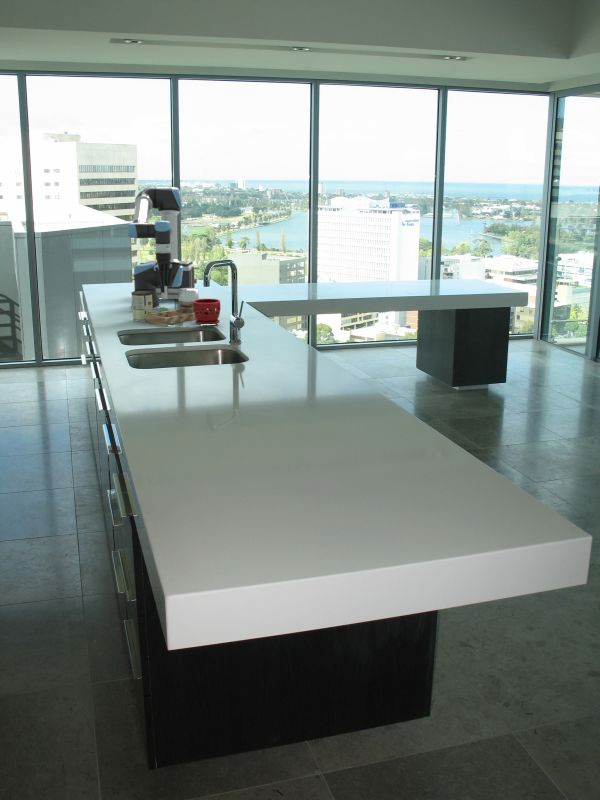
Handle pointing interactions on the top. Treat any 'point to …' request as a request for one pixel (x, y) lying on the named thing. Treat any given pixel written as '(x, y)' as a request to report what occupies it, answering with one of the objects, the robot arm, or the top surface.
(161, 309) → the button
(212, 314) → the plant pot
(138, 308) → the coffee can
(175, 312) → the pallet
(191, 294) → the canister
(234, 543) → the top surface
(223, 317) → the top surface
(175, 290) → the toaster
